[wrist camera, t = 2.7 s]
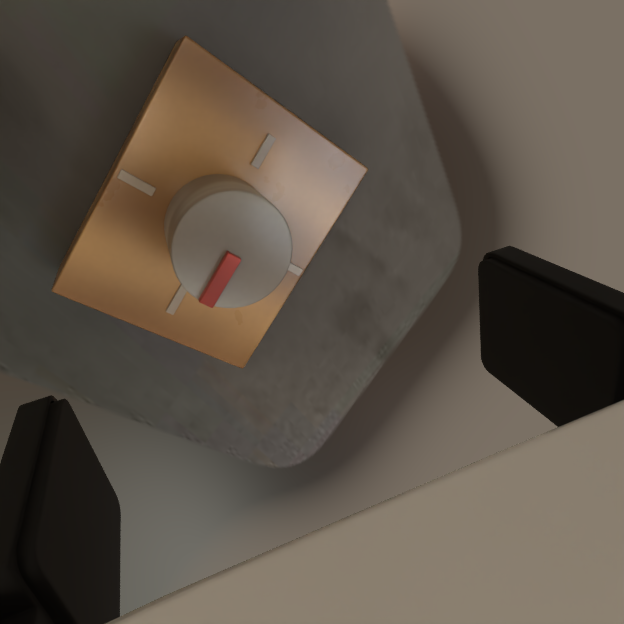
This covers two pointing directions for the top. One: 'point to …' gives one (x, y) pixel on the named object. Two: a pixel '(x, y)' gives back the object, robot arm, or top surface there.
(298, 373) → the top surface
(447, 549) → the robot arm
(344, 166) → the dial panel
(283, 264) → the knob
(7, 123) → the top surface
